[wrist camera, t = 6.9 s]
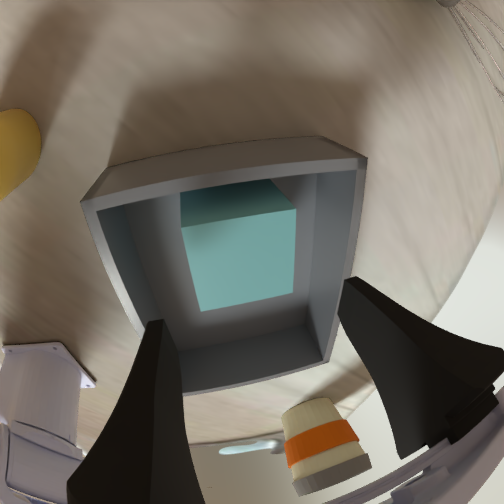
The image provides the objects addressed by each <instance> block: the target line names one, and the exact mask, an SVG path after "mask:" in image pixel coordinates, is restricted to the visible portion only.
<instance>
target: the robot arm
mask: <svg viewBox="0 0 504 504" xmlns="http://www.w3.org/2000/svg"><path fill="white" fill-rule="evenodd" d="M337 315H338V317H339V319H340V322H341V324H342V326H343V328H344V330H345V333H346V335H347V336H348V338H349V340H350V341H351V343H352V345H353V346H354V348H355V350H356V351H357V353H358V355H359V356H360V358H361V360H362V361H363V363H364V365H365V366H366V368H367V370H368V371H369V373H370V375H371V377H372V379H373V381H374V383H375V385H376V387H377V390H378V392H379V394H380V397H381V399H382V402H383V405H384V407H385V410H386V413H387V415H388V419H389V422H390V425H391V428H392V432H393V436H394V440H395V444H396V449H397V453H398V455H399V457H400V459H401V460H402V459H404V458H406V457H407V456H409V455H411V454H412V453H414V452H416V451H417V450H419V449H421V448H422V447H424V446H425V445H428V447H429V450H427V451H426V452H424V453H423V454H421V455H420V456H418V457H417V458H415V459H414V460H412V461H410V462H409V463H407V464H405V465H404V466H402V467H400V468H398V469H397V470H395V471H393V472H391V473H390V474H388V475H386V476H384V477H382V478H380V479H378V480H376V481H374V482H372V483H370V484H368V485H366V486H364V487H362V488H360V489H357V490H355V491H353V492H351V493H348V494H346V495H343V496H341V497H338V498H336V499H333V500H331V501H328V502H325V503H323V504H363V503H365V502H367V501H369V500H371V499H373V498H375V497H377V496H379V495H381V494H383V493H385V492H387V491H389V490H391V489H393V488H394V487H396V486H398V485H400V484H401V483H403V482H405V481H406V480H408V479H410V478H411V477H413V476H414V475H416V474H417V473H419V472H420V471H422V470H423V473H422V474H421V475H419V476H417V477H415V478H413V479H411V480H409V481H407V482H405V483H404V484H402V485H401V486H399V487H398V488H396V489H395V490H393V491H392V492H391V498H390V499H388V500H385V501H383V502H381V503H379V504H467V503H468V502H469V501H470V500H471V499H472V498H473V496H474V495H475V494H476V493H477V492H478V490H479V489H480V488H481V487H482V486H483V484H484V483H485V482H486V480H487V479H488V478H489V477H490V475H491V474H492V472H493V471H494V470H495V468H496V467H497V466H498V464H499V463H500V461H501V460H502V458H503V457H504V386H503V387H502V388H501V389H500V390H499V391H498V392H497V393H496V394H495V395H494V394H493V391H494V390H495V387H494V385H493V383H494V382H495V380H496V379H497V378H498V377H499V376H500V375H501V374H502V373H503V372H504V350H503V349H502V348H499V347H495V346H490V345H486V344H482V343H478V342H475V341H471V340H469V339H466V338H463V337H460V336H458V335H455V334H453V333H450V332H448V331H445V330H444V329H441V328H439V327H437V326H435V325H433V324H431V323H429V322H428V321H426V320H424V319H422V318H420V317H419V316H417V315H415V314H414V313H412V312H410V311H409V310H407V309H405V308H404V307H402V306H401V305H399V304H398V303H396V302H395V301H393V300H392V299H390V298H389V297H387V296H386V295H384V294H383V293H381V292H380V291H378V290H377V289H375V288H374V287H373V286H371V285H370V284H368V283H367V282H365V281H364V280H362V279H360V278H359V277H357V276H355V277H351V278H348V279H344V283H343V288H342V293H341V298H340V302H339V307H338V311H337ZM2 351H3V352H4V353H5V354H6V355H5V358H4V361H3V364H2V367H1V371H0V422H1V423H0V502H1V504H49V503H46V502H43V501H40V500H37V499H34V498H31V497H28V496H25V495H23V494H20V493H17V492H15V491H13V490H11V489H9V488H8V487H10V488H12V489H15V490H17V491H20V492H23V493H25V494H28V495H31V496H34V497H37V498H40V499H43V500H46V501H49V502H53V503H57V504H205V501H204V498H203V495H202V492H201V489H200V487H199V483H198V480H197V477H196V473H195V470H194V466H193V462H192V458H191V454H190V449H189V445H188V440H187V435H186V430H185V422H184V409H183V394H182V377H181V369H180V362H179V356H178V350H177V348H176V346H175V343H174V341H173V339H172V337H171V334H170V332H169V330H168V327H167V325H166V323H165V320H164V319H159V320H153V321H148V323H147V325H146V328H145V331H144V334H143V337H142V341H141V344H140V346H139V349H138V352H137V355H136V358H135V360H134V363H133V366H132V369H131V371H130V374H129V376H128V379H127V381H126V383H125V386H124V388H123V391H122V393H121V395H120V397H119V400H118V402H117V404H116V406H115V408H114V410H113V412H112V414H111V416H110V418H109V420H108V421H107V423H106V425H105V427H104V429H103V430H102V432H101V434H100V436H99V437H98V439H97V440H96V442H95V443H94V445H93V446H92V448H91V449H90V451H89V452H88V454H87V455H86V457H85V458H83V457H82V449H79V448H77V447H76V440H77V420H78V407H79V397H80V388H94V387H96V383H95V382H94V381H93V380H92V378H91V377H90V376H89V375H88V374H87V373H86V372H85V371H84V370H83V368H82V367H81V366H80V365H79V364H78V363H77V361H76V360H75V359H74V358H73V357H72V355H71V354H70V353H69V352H68V350H67V349H66V348H65V347H64V345H63V344H62V343H60V342H52V343H40V344H26V345H8V346H2ZM7 486H8V487H7Z"/></svg>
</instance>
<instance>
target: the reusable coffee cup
mask: <svg viewBox="0 0 504 504" xmlns="http://www.w3.org/2000/svg"><path fill="white" fill-rule="evenodd" d="M282 423H283V428H284V434H285V439H286V443H285V444H284V447H285V452H286V457H287V463H288V468H291V469H292V474H293V480H294V482H293V486H294V488H295V489H296V492H297V493H298V496H303V495H306V494H310V493H313V492H316V491H319V490H322V489H325V488H327V487H330V486H333V485H335V484H338V483H340V482H343V481H345V480H347V479H350V478H352V477H354V476H356V475H359V474H361V473H363V472H365V471H367V470H369V469H371V468H372V466H371V462H370V459H369V456H368V454H367V453H366V454H365V453H364V451H363V449H362V448H361V446H360V445H359V443H358V442H359V438H358V437H357V435H356V434H355V432H354V431H353V429H352V428H351V426H350V425H349V423H348V422H347V420H345V419H343V418H342V417H341V415H340V414H339V412H338V411H337V409H336V408H335V406H334V405H333V403H332V401H331V400H330V399H329V398H326V397H325V398H317V399H312V400H309V401H306V402H304V403H301V404H299V405H297V406H295V407H293V408H291V409H289V410H288V411H286V412H285V413H284V414H283V415H282Z"/></svg>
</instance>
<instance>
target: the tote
mask: <svg viewBox="0 0 504 504" xmlns="http://www.w3.org/2000/svg"><path fill="white" fill-rule="evenodd" d="M367 159H368V158H367V157H365V156H363V155H361V154H359V153H357V152H355V151H353V150H351V149H349V148H347V147H345V146H343V145H341V144H338V143H336V142H334V141H332V140H330V139H327V138H325V137H323V136H309V137H291V138H278V139H266V140H256V141H246V142H238V143H230V144H222V145H215V146H209V147H202V148H196V149H190V150H185V151H179V152H174V153H169V154H164V155H159V156H154V157H149V158H145V159H140V160H136V161H132V162H128V163H124V164H120V165H116V166H112V167H108V168H106V169H105V170H104V172H103V173H102V174H101V175H100V177H99V178H98V179H97V180H96V182H95V183H94V184H93V185H92V187H91V188H90V189H89V191H88V192H87V193H86V195H85V196H84V197H83V199H82V200H81V201H80V203H81V206H82V209H83V212H84V215H85V218H86V221H87V224H88V226H89V229H90V232H91V235H92V237H93V240H94V242H95V245H96V248H97V250H98V253H99V255H100V257H101V260H102V262H103V265H104V267H105V269H106V272H107V274H108V276H109V278H110V281H111V283H112V285H113V287H114V289H115V291H116V293H117V296H118V298H119V300H120V302H121V304H122V306H123V308H124V310H125V312H126V314H127V316H128V318H129V320H130V321H131V323H132V325H133V327H134V329H135V331H136V333H137V335H138V336H139V338H140V340H141V341H142V337H143V334H144V331H145V328H146V325H147V323H148V321H153V320H159V319H164V320H165V323H166V325H167V327H168V330H169V332H170V334H171V337H172V339H173V341H174V343H175V346H176V348H177V350H178V356H179V362H180V369H181V377H182V394H183V396H190V395H197V394H203V393H209V392H214V391H220V390H225V389H230V388H235V387H240V386H244V385H249V384H253V383H257V382H261V381H266V380H270V379H273V378H277V377H281V376H285V375H288V374H292V373H295V372H299V371H302V370H306V369H309V368H312V367H315V366H319V365H322V364H325V363H328V362H329V360H330V356H331V353H332V349H333V346H334V342H335V338H336V335H337V331H338V327H339V323H340V319H339V317H338V315H337V311H338V307H339V302H340V298H341V293H342V288H343V283H344V279H348V278H350V275H351V270H352V265H353V260H354V255H355V249H356V243H357V238H358V231H359V225H360V218H361V212H362V204H363V197H364V188H365V179H366V170H367ZM268 178H269V179H270V180H271V181H272V182H273V183H274V184H275V185H276V186H277V188H278V189H279V190H280V191H281V192H282V193H283V194H284V195H285V197H286V198H287V199H288V200H289V201H290V202H291V203H292V205H293V206H294V207H295V208H296V234H295V259H294V279H293V293H289V294H285V295H280V296H276V297H271V298H267V299H262V300H257V301H253V302H248V303H243V304H238V305H233V306H228V307H223V308H218V309H212V310H207V311H202V312H201V310H200V307H199V303H198V299H197V295H196V291H195V287H194V283H193V279H192V275H191V271H190V266H189V262H188V258H187V253H186V249H185V244H184V240H183V235H182V231H181V214H180V192H185V191H191V190H196V189H202V188H208V187H214V186H220V185H226V184H232V183H239V182H246V181H253V180H260V179H268Z"/></svg>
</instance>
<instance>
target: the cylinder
mask: <svg viewBox="0 0 504 504" xmlns="http://www.w3.org/2000/svg"><path fill="white" fill-rule="evenodd" d="M40 153H41V136H40V131H39V128H38V125H37V123H36V121H35V120H34V118H33V117H32V116H31V115H30V114H29V113H28V112H26V111H24V110H22V109H16V108H15V109H10V110H6V111H3V112H0V201H1V200H3V199H4V198H5V197H6V196H7V195H8V194H9V193H10V192H12V191H13V190H14V189H15V188H16V187H18V186H19V185H20V184H21V183H22V182H24V181H25V180H26V179H27V178H28V177H29V176H30V175H31V174H32V173H33V172H34V170H35V168H36V166H37V164H38V161H39V158H40Z"/></svg>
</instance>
